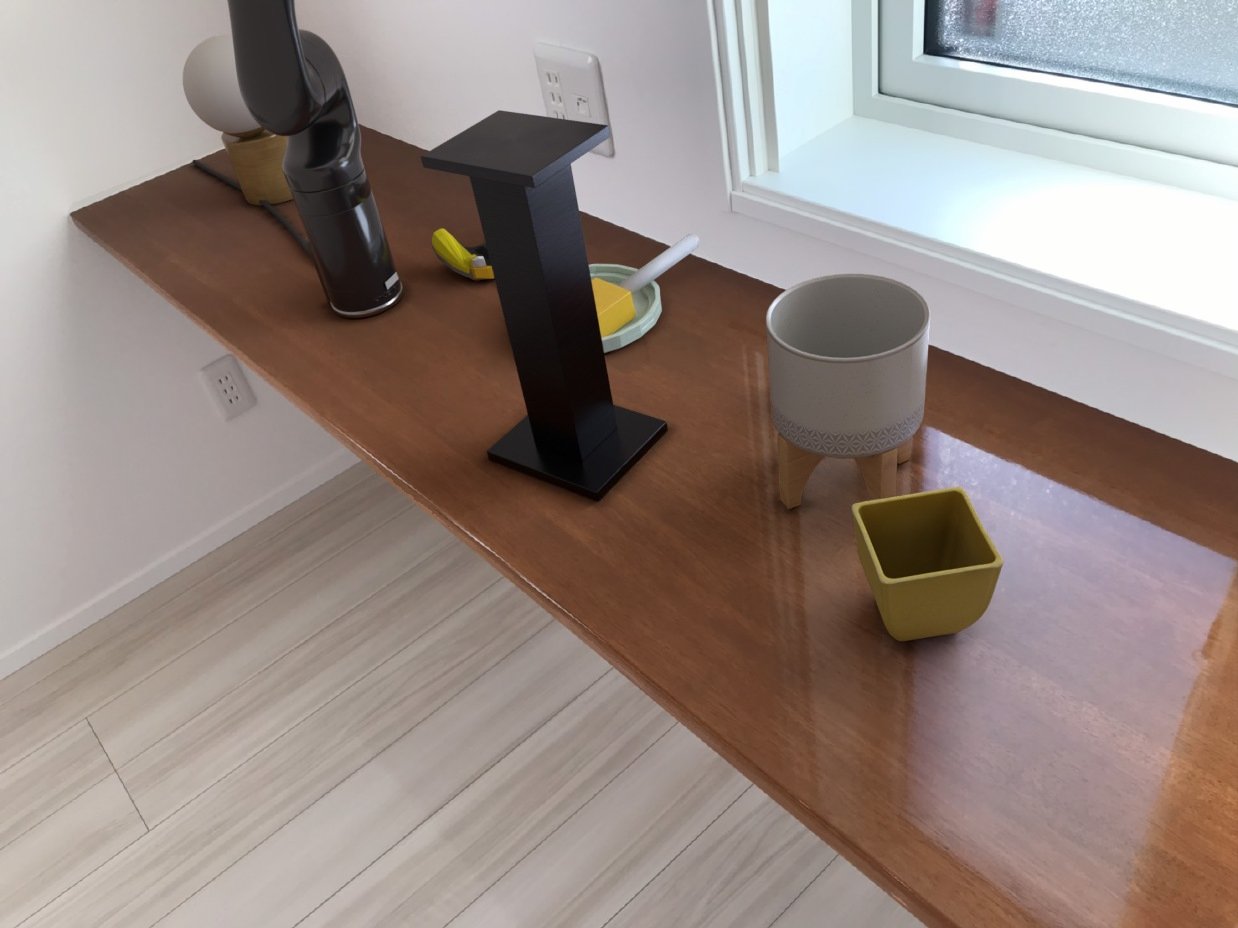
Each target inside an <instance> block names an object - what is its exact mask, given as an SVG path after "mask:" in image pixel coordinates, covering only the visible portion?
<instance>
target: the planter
mask: <svg viewBox="0 0 1238 928" xmlns="http://www.w3.org/2000/svg"><path fill="white" fill-rule="evenodd" d="M930 325H931V309H930V307H929V304H928V302H927V300H926V299H925V298H924V296H923V295H921V293H919V292H918V291H917V290H916V289H914V288H913V287H911V285H908V284H906V283H903V282H902V281H899V280H896V279H893V278H889V277H886V276H882V275H876V274H867V273H835V274H829V275H823V276H819V277H815V278H811V279H808V280H804V281H802V282H799V283H797V284H794V285H793V286H791V287H789V288H787V289H786V290H784V291H783V292H781V293H780V294H779V295H777V297H776V298H775V299H773V301H772V302H771V303H770V304H769V307H768V309H767V311H766V315H765V329H766V331H765V332H766V346H767V348H766V350H767V364H768V365H767V366H768V382H769V401H770V417H771V421H772V424H773V426H774V428H775V430H776V431H777V433H776V438H777V439H776V440H777V458H778V460H777V461H778V477H779V478H778V479H779V497H780V498H779V499H780V501H781V503H783V505H784V506H785V507H786V508H787V509H788V510H791V509H793V508H796V507H798V506H800V505H802V495H803V492H804V489H805V485H806V483H807V481H808V480H809V478H810V476H811V474H813V472H814V470H815V469H816V468H817V467H818V465H820V463H821V462H822V461H823V460H824V459H825V458H833V459H842V460H847V459H848V460H849V459H850V460H851V459H853V460H854V462H855V463H856V465H857V468H858V469H859V471H860V473H861V475H862V477H863V479H864V482H865V485H866V488H867V492H868V495H869V501H872V500H877V499H885V498H891V497H896V493H897V491H896V490H897V473H898V464H903V463H905V462H907V461H909V460H911V454H912V453H911V452H912V437H913V436H914V435H915V434H916V432H917V431H918V430H919V428H920V426H921V425H922V422H923V419H924V415H925V402H926V386H927V372H928V371H927V370H928V356H929V355H928V354H929V343H930Z"/></svg>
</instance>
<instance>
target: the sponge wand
mask: <svg viewBox="0 0 1238 928" xmlns="http://www.w3.org/2000/svg"><path fill="white" fill-rule="evenodd" d="M699 246H700V239H699V237H698V236H697V235H696V234H694V233H690V234H687V235H686V236H684V237H682V238H681V239H679V240H678V241H677V242H676V243H674V244H673V245H671V246H670V247H669V248H667V249H666V250H665V251H662V253H660V254H658V255H657V256H656V257H654V258H653V259H651V260H650V261H649V262H648V263H645V265H644V266H642V267H641V268H638V271H636V272H635V273H634V274H632V275H631V276H629V277H628V278H627V279H625V280H624V281H622V282H621V283H620V284H618V285H617V286H616V285H614V284H611V283H609V282H606V281H604V280H601V279H599V278H597V277H596V278H594V279H593V280H591V281H592V287H593V292H594V298H595V304H596V309H597V315H598V321H599V326H600V332H601V338H603V337H606V336H609V335H612V334H613V333H614V332H616V331H617V330H618V329H620V328H621V327H622V326H624V325H625V324H626V323H628V322H629V321H630V320H632V319H633V318H635V317H636V313H635V308H634V304H633V299H632V295H634V294H635V293H636V292H638V291H639V290H640V289H642V288H643V287H645V286H646V285H647V284H649V283H650V282H651V281H653V280H654V281H655V280H656V279H657V278H659V277H660V276H662V275H663V274H664V273H666V272H667V271H668V270H670V269H671V268H672V267H674V266H675V265H676V264H678V263H679V262H680V261H682V260H684V259H685V258H686V257H687V256H689V255H690V254H692V253H693V252H694V251H696V250H697V249H698V247H699Z"/></svg>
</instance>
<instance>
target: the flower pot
mask: <svg viewBox="0 0 1238 928" xmlns="http://www.w3.org/2000/svg"><path fill="white" fill-rule="evenodd" d="M851 512H852V521H853V528H854V534H855V541H856V542H855V543H856V548H857V554H858V557H859V561H860V564H861V567H862V570H863V572H864V575H865V576H866V579H867V582H868V584H869V587H870V589H871V592H872V594H873V597H874V600H875V602H876V606H877V608H878V610H879V613H880V617H881V619H882V622H883V625H884V626H885V629H886V630H887V633H888V634H889V635H890V636H891V637H892V638H893V639H895V640H896V641H898V642H908V641H914V640H919V639H920V640H921V639H926V638H932V637H937V636H944V635H951V634H957V633H960V632H962V631H964V630H966V629H968V628H969V627H971V626H972V625H974V624H975V623H976V622H977V621H979V620H980V619H981V618H982V617H983V616H984V615H985V613H986V611H987V610H988V608H989V606H990V605H991V601H992V599H993V595H994V593H995V590H996V586H997V584H998V581H999V578H1000V575H1001V572H1002V569H1003V566H1004V559H1003V557H1002V555H1001V553H1000V552H999V549H998V548H997V547H996V545H995V543H994V541H993V540H992V538H991V536H990V535H989V533H988V531H987V529H986V527H985V526H984V525H983V523H982V521H981V519H980V517H979V514H978V513H977V510H976V509H975V507H974V505H973V503H972V501H971V498H970V497H969V495H968V493H967V491H966V490H965V489H964V488H963V487H962V486H952V487H946V488H939V489H934V490H928V491H921V492H915V493H910V494H904V495H897V496H896V495H895V497H891V498H885V499H877V500H872V501H870V500H865V501H861V502H856V503H855V502H854V503H853V504H852V505H851Z"/></svg>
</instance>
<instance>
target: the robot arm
mask: <svg viewBox="0 0 1238 928" xmlns="http://www.w3.org/2000/svg"><path fill="white" fill-rule="evenodd" d="M226 1H227V2H226V3H227V7H228V13H229V21H230V30H231V35H232V40H233V49H234V57H235V66H236V74H237V80H238V86H239V90H240V93H241V96H242V99H243V101H244V104H245V106H246V107H247V109H248V111H249V113H250V114H251V116H252V117H253V118H254V119H255V120H256V121H257V123H258V124H259V125H260V126H262V127H263V128H264V129H266V130H267V131H269V132H271V133H273V134H275V135H279V136H287V146H286V151H285V154H284V157H283V162H282V168H283V172H284V175H285V178H286V181H287V184H288V186H289V189H290V191H291V194H292V197H293V199H292V200H293V202H294V204H295V207H296V210H297V213H298V216H299V219H300V221H301V224H302V227H303V229H304V232H305V234H306V238H305V240H304V238H303V237H302V236H301V234H300V233H299V232H298V231H297V230H296V228H295V227H293V225H292V224H291V223H290V222H289V221H288V220H287V219H286V217H284V216H283V214H281V213H280V212H279V211H278V210H276V208H274V207H273V205H269V204H268V203H267V202H266V201H264V200H260V201H259V203H260V204H261V205H260V206H263V207H264V208H265V209H266V210H267V211H268V212H270V214H272V215H273V216H274V217H275V218H276V219H277V220H279V222H280V223H281V224H282V225H283V226H284V227H285V228H286V229H287V230H288V231H289V233H290V235H292V236H293V238H294V239H295V240H296V241H297V242H298V244H299V245H300V246H301V248H302V249H303V250H304V252H305V253H306V254H307V255H308V256H309V257H310V258H311V261H312V262H313V266H314V269H315V271H316V274H317V276H318V279H319V282H320V284H321V287H322V290H323V292H324V295H325V298H326V300H327V303H328V305H330V306H331V308H332V311H333V312H334V314H335V315H337V316H339V317H341V318H344V319H345V318H346V319H363V318H369V317H372V316H376V315H378V314H381V313H384V312H386V311H387V310H389V309H391V308H393V307H394V306H395V305H396V304H398V303H399V302H400V301H401V300H402V298H403V296H404V293H405V290H404V287H403V284H402V281H401V280H400V277H399V273H398V270H397V267H396V265H395V264H396V263H395V260H394V257H393V254H392V251H391V248H390V244H389V241H388V238H387V234H386V231H385V228H384V225H383V221H382V218H381V215H380V212H379V208H378V206H377V203H376V199H375V196H374V193H373V190H372V187H371V184H370V183H371V182H370V180H369V178H368V174H367V171H366V168H365V165H364V162H363V158H362V134H361V129H360V124H359V121H358V117H357V113H356V110H355V105H354V102H353V98H352V94H351V90H350V86H349V83H348V81H347V80H348V79H347V76H346V73H345V71H344V67H343V65H342V64H341V61H340V58H339V57H338V56H337V54H336V52H335V50H333V47H331V46H330V44H329V43H328V42H327V41H326V40H325V39H324V38H322V37H321V36H320V35H318V34H316V33H315V32H313V31H310V30H307V29H304V28H303V29H302V28H299V26H298V20H297V19H298V18H297V12H296V0H226ZM192 164H193V165H194V166H196V167H198V168H200V169H202V170H203V171H205V172H206V173H208V174H210V175H212V176H214V177H216V178H217V179H219V180H221V181H223V182H225V183H226V184H228V185H230V186H232V187H234V188H235V189H237V190H239V191H240V192H242V189H241V187H240V184H239V182H236V181H235V180H233V179H230V178H229V177H227V176H226V175H223V174H221V173H219V172H218V171H216V170H214V169H212V168H210V167H209V166H207V165H206V164H204V163H202V162H200V161H198V160H197V159H192Z"/></svg>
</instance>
